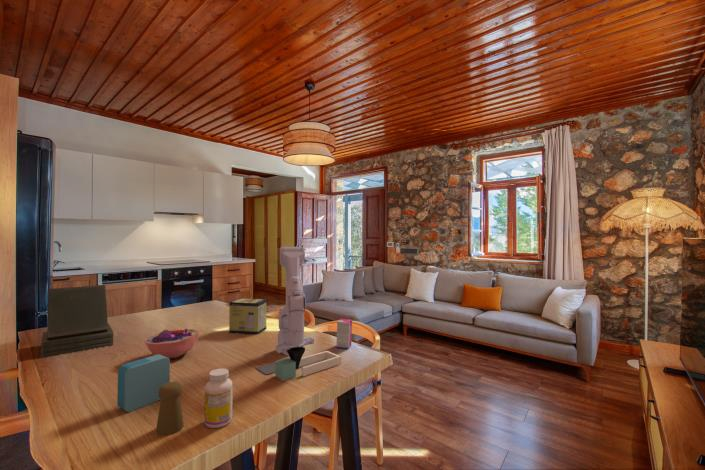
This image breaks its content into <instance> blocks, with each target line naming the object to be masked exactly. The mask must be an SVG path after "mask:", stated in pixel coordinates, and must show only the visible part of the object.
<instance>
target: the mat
mask: <svg viewBox="0 0 705 470" xmlns="http://www.w3.org/2000/svg"><path fill="white" fill-rule="evenodd" d="M255 369H256V370H257V371H259V372H260V373H262V374H263V375H265V376H269V375H272V374H275V361H274V362H272V363H267V364H264V365H261V366H256V367H255Z"/></svg>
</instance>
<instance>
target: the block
mask: <svg viewBox="0 0 705 470" xmlns="http://www.w3.org/2000/svg"><path fill="white" fill-rule="evenodd" d="M274 362H275V373H274V374H275V377H276V378H278V379H279V380H281V381H282V382H283V381H286V380H289V379H292V378H296V376H297V375H296V374H297V372H296V371H297V369H296V362H295V361H293V360H291V359H290V357H287V358H286V357H285V358H282V359H278V360H275V361H274Z"/></svg>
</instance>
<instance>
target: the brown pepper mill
mask: <svg viewBox="0 0 705 470" xmlns="http://www.w3.org/2000/svg"><path fill="white" fill-rule="evenodd" d="M182 393H183V385H182V384H181V382H178V381H170V382H169V383H166V384H164V385H162V386H161V387H160V389H159V392H158V395H159V398H160V399H161V400H160V404H159V410H158V417H157V421H156V422H157V424H156V430H155V434H156V435H158V436H161V437H164V436H171V435H174V434H177V433H179V432H180V431H181V430H183V428H184V419H183V418H184V417H183V409H182V404H181V403H182V401H181V395H182Z"/></svg>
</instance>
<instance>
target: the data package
mask: <svg viewBox="0 0 705 470" xmlns="http://www.w3.org/2000/svg"><path fill="white" fill-rule="evenodd" d="M170 360H171V359H169V358H167V357H165V356H162V355H152V356H147V357H144V358H141V359H137V360H134V361H130V362H127V363H124V364H121V366H119V368H118V370H117V394H116V395H117V397H116V399H117V402H116V403H117V404H116V405H117V407H118V408H120V409H121V410H124V411H125V412H126V413H131V412H133V411H136V410H139V409H141V408H142V407H143V408H144V407H146V406H149V405H151V404H153V403H156V402H159V401H161V399H160V398H159V395H158V392H159V389H160V387H161V386H162V385H164V384H166V383H169V382H171V380H170V379H171V378H170V377H171V376H170V375H171V361H170Z"/></svg>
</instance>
